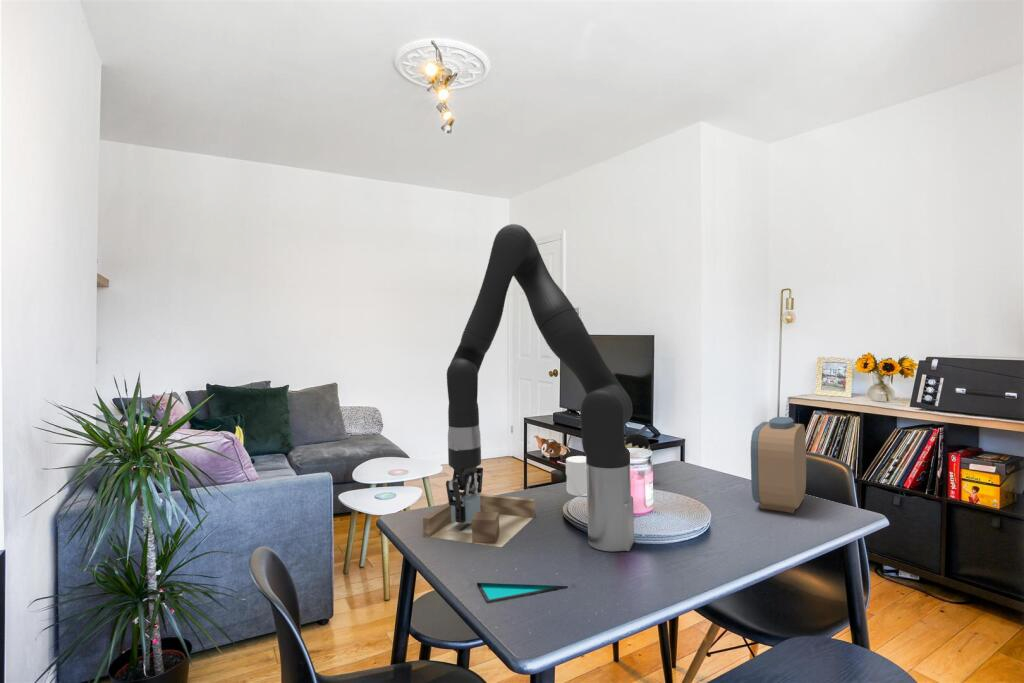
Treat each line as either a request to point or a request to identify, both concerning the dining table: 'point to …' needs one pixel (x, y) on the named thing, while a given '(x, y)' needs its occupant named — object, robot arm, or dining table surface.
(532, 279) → the robot arm
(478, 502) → the block
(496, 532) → the walnut block
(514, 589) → the flat teal bar
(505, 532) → the tray
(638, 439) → the toy
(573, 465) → the mug
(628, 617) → the dining table surface
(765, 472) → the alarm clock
